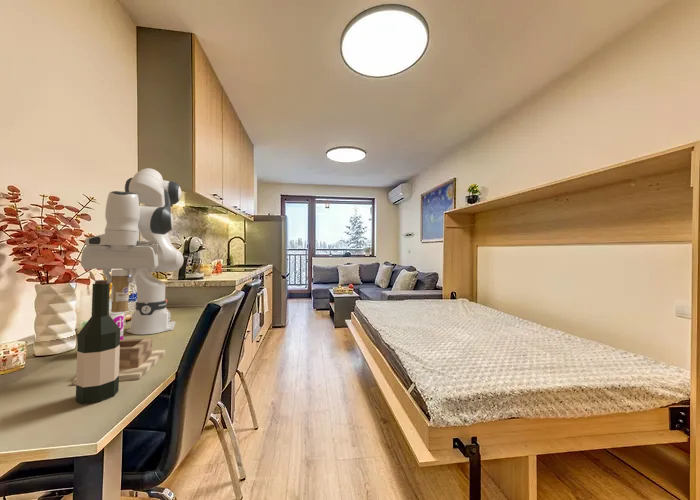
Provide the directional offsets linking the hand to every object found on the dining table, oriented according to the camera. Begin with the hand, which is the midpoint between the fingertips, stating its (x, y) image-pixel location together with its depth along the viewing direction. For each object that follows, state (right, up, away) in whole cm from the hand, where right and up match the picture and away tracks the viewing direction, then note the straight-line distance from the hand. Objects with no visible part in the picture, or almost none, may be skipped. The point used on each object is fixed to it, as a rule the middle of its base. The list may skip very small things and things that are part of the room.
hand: (120, 282), depth 93 cm
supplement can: (-16, -28, +15) cm, 35 cm away
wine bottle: (+9, -27, -19) cm, 34 cm away
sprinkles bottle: (0, -9, 0) cm, 9 cm away
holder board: (+2, -27, 0) cm, 27 cm away
